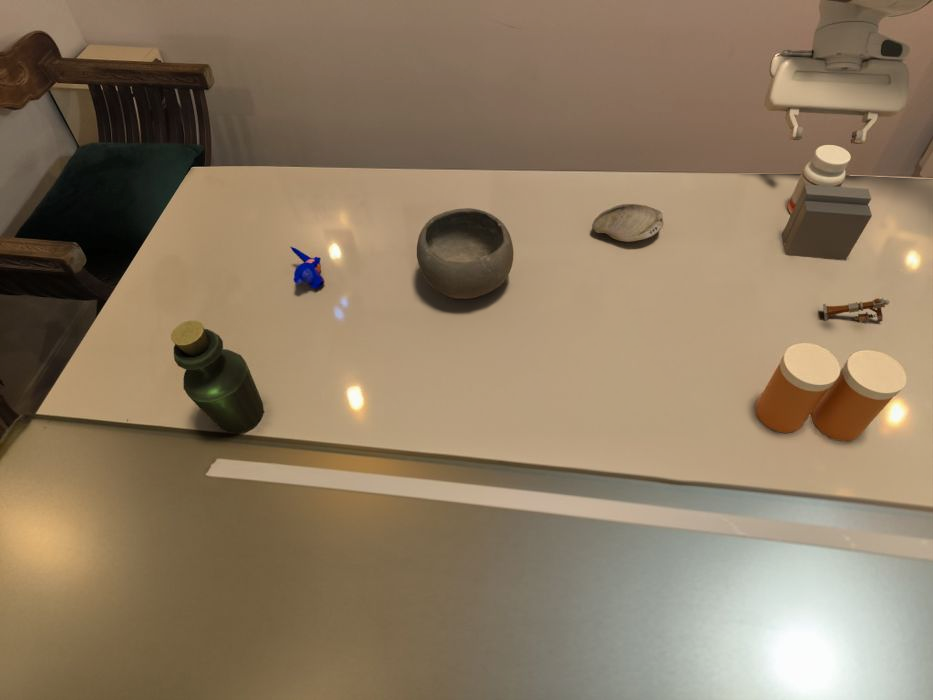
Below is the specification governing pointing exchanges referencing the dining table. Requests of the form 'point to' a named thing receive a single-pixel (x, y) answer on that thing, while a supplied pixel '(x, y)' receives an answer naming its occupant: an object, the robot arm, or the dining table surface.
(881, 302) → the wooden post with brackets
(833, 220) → the grey boxes
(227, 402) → the potion bottle
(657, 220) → the seashell
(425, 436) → the dining table surface
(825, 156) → the pill bottle
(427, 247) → the bowl
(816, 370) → the matching pill bottles
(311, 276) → the figurine
